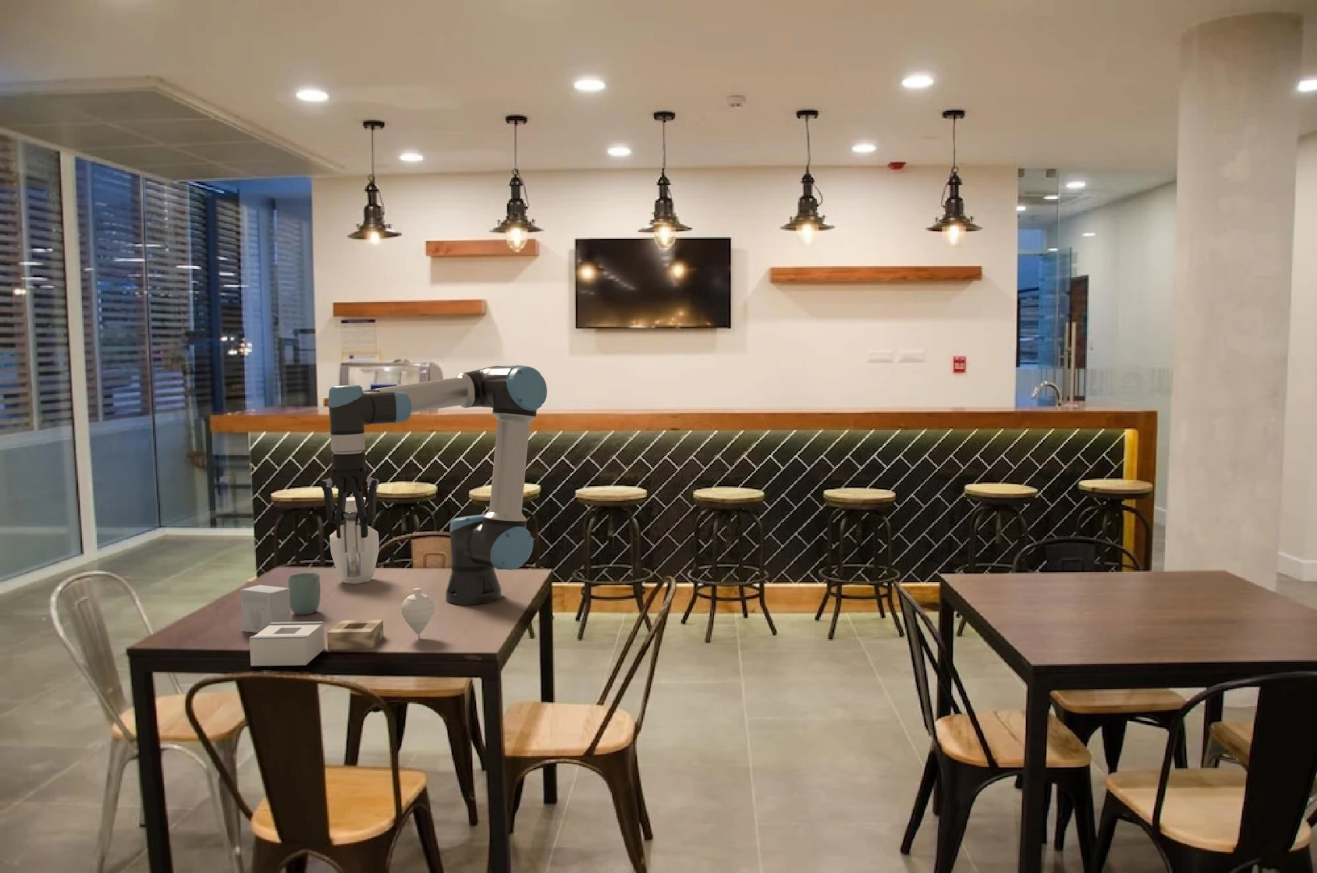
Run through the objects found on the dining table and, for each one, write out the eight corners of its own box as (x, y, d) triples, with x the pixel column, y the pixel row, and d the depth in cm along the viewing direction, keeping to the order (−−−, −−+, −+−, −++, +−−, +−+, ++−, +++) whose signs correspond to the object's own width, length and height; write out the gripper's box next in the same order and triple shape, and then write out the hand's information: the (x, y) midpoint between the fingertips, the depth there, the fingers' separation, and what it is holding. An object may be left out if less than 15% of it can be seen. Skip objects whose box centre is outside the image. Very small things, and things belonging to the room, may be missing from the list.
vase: (390, 577, 288) (387, 496, 286) (358, 588, 275) (354, 503, 273) (354, 573, 294) (350, 494, 292) (320, 583, 281) (317, 501, 279)
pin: (365, 573, 223) (362, 510, 221) (360, 577, 219) (357, 513, 217) (348, 573, 223) (345, 510, 221) (342, 577, 219) (339, 513, 217)
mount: (383, 635, 227) (383, 619, 227) (371, 648, 217) (370, 631, 217) (342, 636, 227) (341, 620, 227) (327, 649, 217) (327, 632, 217)
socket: (324, 648, 218) (323, 621, 217) (305, 665, 206) (304, 636, 206) (273, 648, 218) (271, 622, 217) (250, 665, 206) (249, 637, 206)
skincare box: (292, 628, 235) (290, 587, 234) (272, 635, 229) (270, 593, 228) (261, 624, 239) (259, 583, 238) (240, 631, 233) (238, 589, 232)
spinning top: (409, 632, 229) (407, 584, 228) (439, 633, 228) (438, 584, 227) (397, 642, 222) (395, 592, 221) (428, 643, 221) (427, 592, 220)
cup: (310, 617, 244) (308, 579, 243) (283, 616, 246) (281, 578, 245) (326, 609, 252) (325, 572, 251) (300, 608, 253) (298, 572, 253)
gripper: (387, 449, 222) (392, 547, 224) (319, 451, 222) (324, 549, 224) (378, 453, 215) (383, 554, 217) (307, 454, 214) (312, 555, 217)
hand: (353, 551), depth 220 cm, fingers closed on pin, 3 cm apart
